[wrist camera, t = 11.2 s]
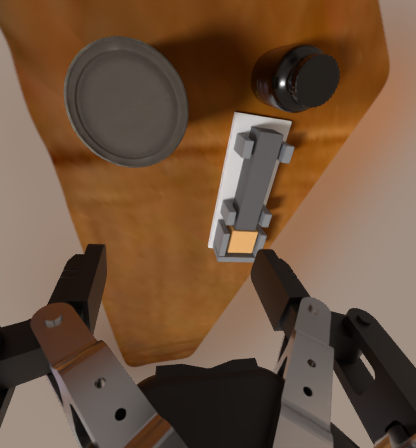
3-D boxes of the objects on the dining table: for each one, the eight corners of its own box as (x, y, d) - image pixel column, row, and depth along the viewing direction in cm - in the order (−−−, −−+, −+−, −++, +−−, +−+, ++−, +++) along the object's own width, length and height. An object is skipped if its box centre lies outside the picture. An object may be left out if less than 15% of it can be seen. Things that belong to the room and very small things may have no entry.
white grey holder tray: (234, 111, 37) (245, 117, 32) (289, 120, 39) (307, 127, 34) (207, 245, 48) (213, 263, 44) (251, 246, 50) (260, 264, 46)
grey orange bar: (248, 125, 37) (258, 131, 33) (275, 129, 38) (288, 136, 34) (222, 238, 47) (228, 252, 43) (244, 239, 48) (251, 253, 44)
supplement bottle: (280, 35, 33) (335, 20, 23) (303, 81, 36) (361, 85, 26) (239, 75, 34) (274, 77, 24) (265, 115, 38) (305, 132, 28)
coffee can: (126, 27, 30) (106, -2, 18) (192, 91, 34) (212, 103, 22) (81, 100, 33) (39, 117, 21) (148, 150, 37) (145, 188, 25)
